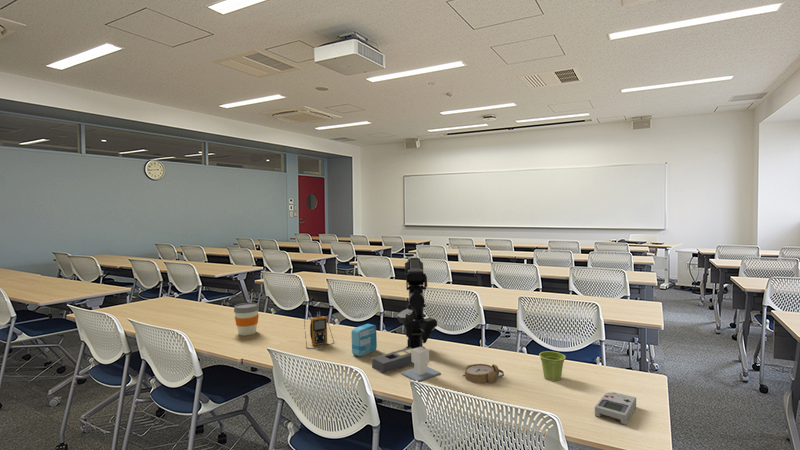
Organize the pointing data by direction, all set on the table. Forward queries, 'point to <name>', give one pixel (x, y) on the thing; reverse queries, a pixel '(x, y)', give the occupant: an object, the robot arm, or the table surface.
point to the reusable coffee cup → (246, 318)
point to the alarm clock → (482, 373)
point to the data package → (364, 340)
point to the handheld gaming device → (616, 406)
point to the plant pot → (552, 365)
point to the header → (392, 360)
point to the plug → (420, 359)
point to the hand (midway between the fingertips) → (416, 340)
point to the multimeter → (318, 329)
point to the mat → (418, 377)
